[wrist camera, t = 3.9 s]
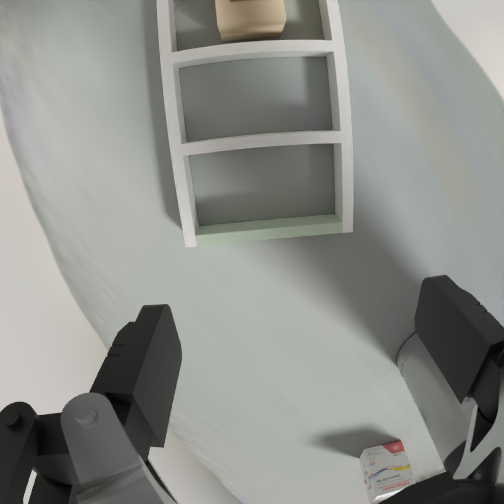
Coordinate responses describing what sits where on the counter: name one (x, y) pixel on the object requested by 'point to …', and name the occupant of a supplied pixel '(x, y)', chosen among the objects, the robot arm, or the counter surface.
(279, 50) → the divider frame
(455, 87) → the counter surface
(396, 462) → the ink cartridge box
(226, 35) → the beech letter block
